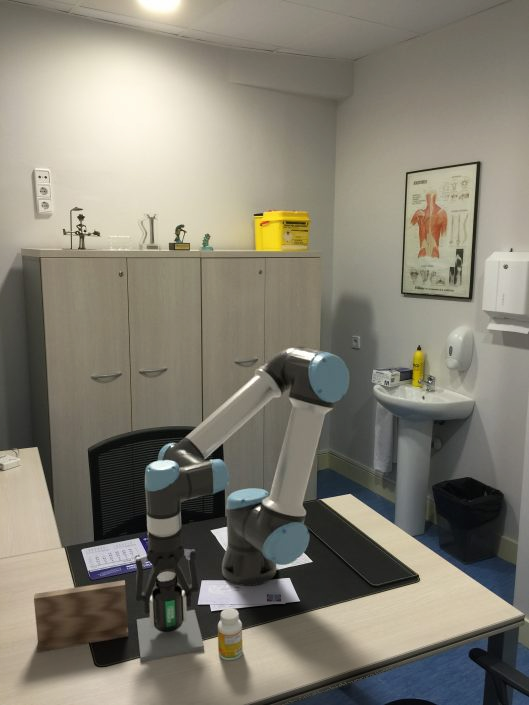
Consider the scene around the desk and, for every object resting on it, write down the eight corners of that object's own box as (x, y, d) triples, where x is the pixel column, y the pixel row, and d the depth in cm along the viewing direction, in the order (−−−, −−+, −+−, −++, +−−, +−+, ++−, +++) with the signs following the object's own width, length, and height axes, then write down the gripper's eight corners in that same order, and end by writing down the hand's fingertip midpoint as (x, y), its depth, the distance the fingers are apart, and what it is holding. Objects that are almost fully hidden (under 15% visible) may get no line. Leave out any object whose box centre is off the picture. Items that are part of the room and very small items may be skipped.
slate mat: (194, 613, 149) (194, 609, 149) (204, 649, 136) (203, 645, 136) (136, 623, 146) (136, 619, 146) (140, 661, 132) (140, 657, 132)
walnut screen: (127, 620, 147) (124, 575, 144) (128, 636, 141) (125, 589, 139) (39, 635, 142) (35, 589, 139) (37, 652, 136) (32, 603, 134)
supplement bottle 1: (177, 634, 136) (175, 586, 134) (148, 631, 138) (146, 583, 135) (187, 616, 143) (185, 570, 141) (159, 613, 144) (157, 567, 142)
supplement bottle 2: (218, 645, 137) (217, 606, 136) (242, 644, 138) (241, 605, 136) (218, 661, 132) (217, 621, 130) (243, 660, 133) (242, 620, 131)
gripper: (205, 516, 142) (207, 605, 146) (118, 527, 137) (124, 619, 141) (210, 531, 135) (213, 624, 139) (119, 543, 130) (125, 639, 134)
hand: (168, 621), depth 140 cm, fingers closed on supplement bottle 1, 7 cm apart
